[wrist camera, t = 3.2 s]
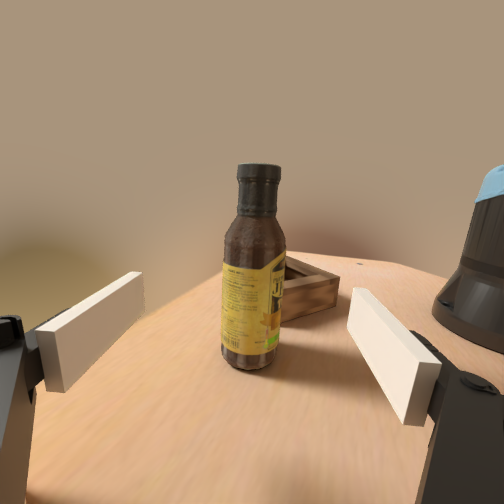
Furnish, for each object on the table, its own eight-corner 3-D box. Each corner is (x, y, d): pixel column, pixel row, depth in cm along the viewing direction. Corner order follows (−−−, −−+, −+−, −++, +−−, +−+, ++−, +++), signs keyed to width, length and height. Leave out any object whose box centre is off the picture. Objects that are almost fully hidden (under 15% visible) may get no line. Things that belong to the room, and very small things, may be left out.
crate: (285, 279, 50) (287, 255, 49) (335, 305, 40) (340, 276, 38) (227, 290, 44) (228, 263, 42) (270, 325, 33) (273, 291, 32)
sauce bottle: (279, 375, 24) (300, 162, 19) (216, 372, 24) (220, 157, 19) (274, 337, 30) (289, 168, 25) (224, 335, 30) (228, 165, 25)
